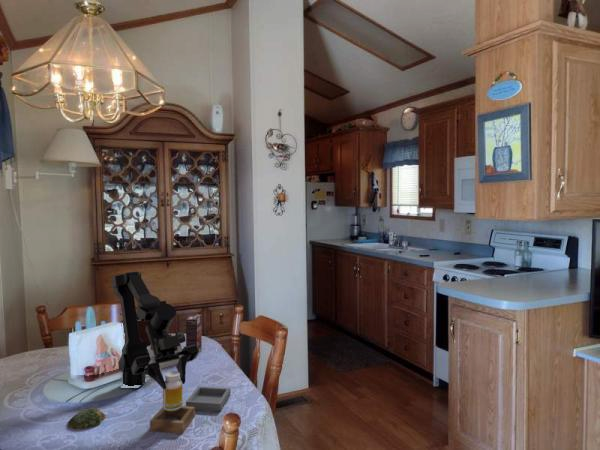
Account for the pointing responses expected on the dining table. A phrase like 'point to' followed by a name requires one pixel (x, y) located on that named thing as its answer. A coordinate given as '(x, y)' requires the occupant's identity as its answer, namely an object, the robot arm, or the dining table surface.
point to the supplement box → (194, 331)
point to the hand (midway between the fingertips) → (174, 386)
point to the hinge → (165, 364)
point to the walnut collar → (172, 425)
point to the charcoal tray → (209, 398)
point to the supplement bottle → (172, 391)
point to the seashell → (86, 419)
